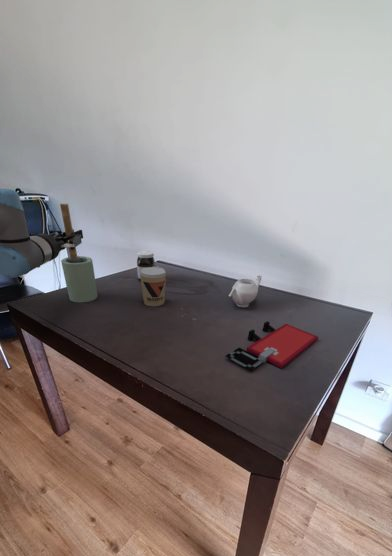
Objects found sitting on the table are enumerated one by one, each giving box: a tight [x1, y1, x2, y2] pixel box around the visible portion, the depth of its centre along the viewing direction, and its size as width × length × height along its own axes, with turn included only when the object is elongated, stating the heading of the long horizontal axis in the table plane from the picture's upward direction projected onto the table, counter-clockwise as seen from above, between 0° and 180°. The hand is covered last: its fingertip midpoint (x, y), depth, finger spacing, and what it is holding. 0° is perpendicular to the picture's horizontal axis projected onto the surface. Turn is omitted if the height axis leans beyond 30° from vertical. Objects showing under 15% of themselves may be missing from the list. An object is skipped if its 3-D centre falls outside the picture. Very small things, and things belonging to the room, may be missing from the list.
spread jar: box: [136, 250, 161, 282], centre depth 124 cm, size 12×11×12 cm
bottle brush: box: [59, 203, 81, 263], centre depth 97 cm, size 4×4×24 cm
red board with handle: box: [225, 320, 319, 371], centre depth 82 cm, size 30×3×15 cm
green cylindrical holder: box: [60, 255, 99, 304], centre depth 104 cm, size 10×10×14 cm
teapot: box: [228, 275, 262, 308], centre depth 106 cm, size 10×20×9 cm, turn 138°
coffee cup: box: [140, 266, 167, 307], centre depth 103 cm, size 9×9×12 cm
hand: (77, 233), depth 101 cm, fingers closed on bottle brush, 2 cm apart
